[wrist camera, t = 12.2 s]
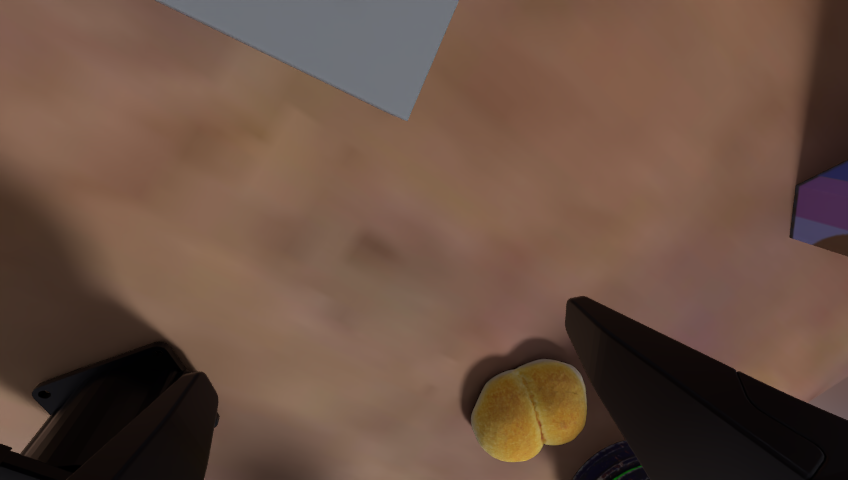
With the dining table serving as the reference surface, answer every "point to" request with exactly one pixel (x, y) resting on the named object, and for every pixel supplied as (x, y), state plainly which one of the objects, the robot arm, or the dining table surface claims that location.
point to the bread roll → (530, 409)
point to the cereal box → (823, 210)
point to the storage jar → (613, 465)
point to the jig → (340, 40)
